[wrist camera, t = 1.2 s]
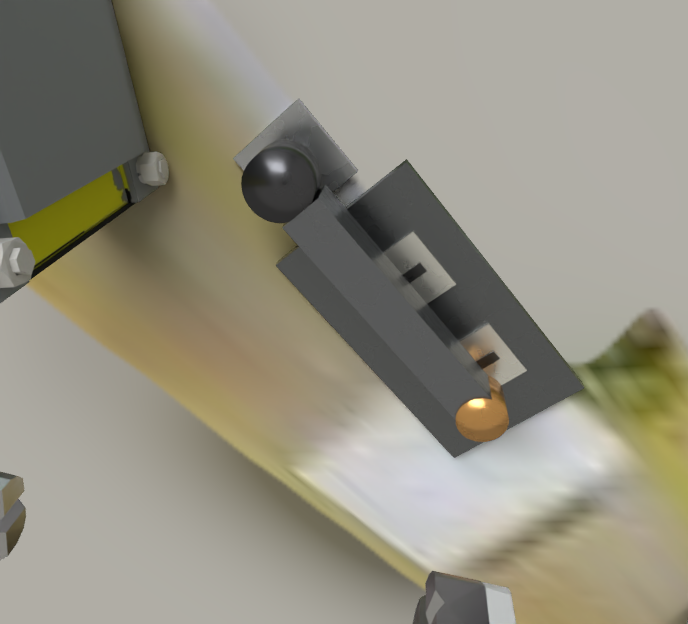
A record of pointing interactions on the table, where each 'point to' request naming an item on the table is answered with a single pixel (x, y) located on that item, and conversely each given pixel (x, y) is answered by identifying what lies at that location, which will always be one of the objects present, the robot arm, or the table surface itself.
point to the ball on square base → (311, 134)
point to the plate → (440, 307)
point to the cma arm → (372, 285)
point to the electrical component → (65, 132)
